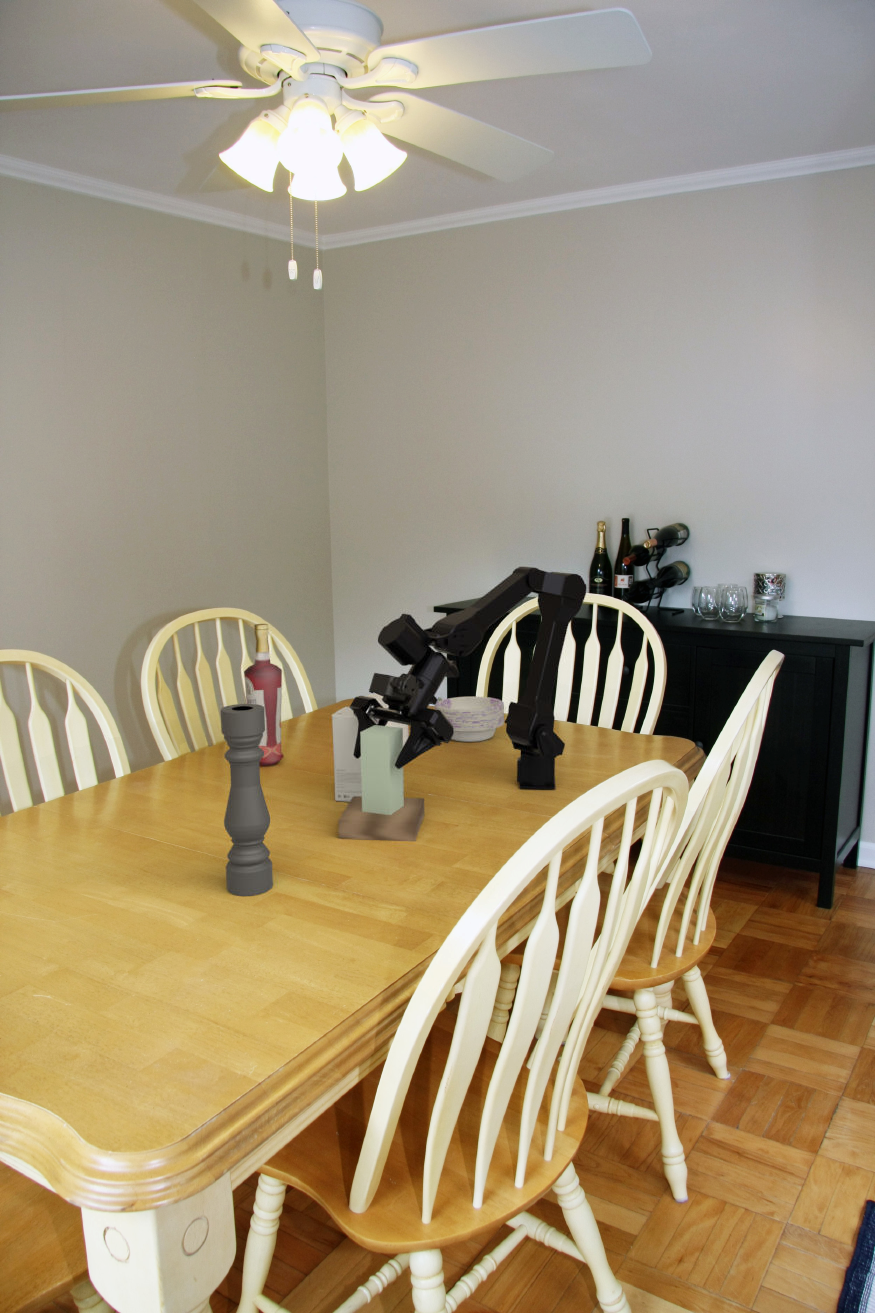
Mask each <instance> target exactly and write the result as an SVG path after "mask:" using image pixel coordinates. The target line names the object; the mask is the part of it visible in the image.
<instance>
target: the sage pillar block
mask: <svg viewBox="0 0 875 1313" xmlns="http://www.w3.org/2000/svg"><path fill="white" fill-rule="evenodd" d="M360 736H361V782H362V811H363V812H370V813H378V814H385V815H391V814H393V813H394V812H396V811H397V810H399V809H400V808H401V807H403V806H404V798H405V797H404V796H405V795H404V793H405V792H404V791H405V790H404V766H403V767H402V768H400V769H397V768H396V767H395V763H396V760H397V758H398V756H399V754H400V752H401V750H402V748H403V728H399V727H389V726H379V725H374V726H372V727H370V728H368V729H366V730H364V731H362V732H360Z"/></svg>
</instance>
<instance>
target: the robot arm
mask: <svg viewBox="0 0 875 1313" xmlns="http://www.w3.org/2000/svg"><path fill="white" fill-rule="evenodd" d="M532 593H534V594H537V606H538V609H539V613H540V616H541V620H540V624H539V628H538V631H537V632H538V633H537V637H536V642H535V644H534V650H533V654H532V658H531V662H530V667H529V671H528V675H527V679H526V680H527V681H526V684H525V687H524V692H523V695H522V696H521V697H520V699H519V700H518V701H517V702H514V701H509V702H510V703H509V705H508V711H507V715H506V719H504V724H505V725H506V727H505V733H506V734H507V736H508V738H509V740H510V741H511V744H512V747H513V749H514V750H518V751H520V755H519V756H520V757H519V756H518V757H517V758H516V759H517V761H516V783H517V784H519V786H518V787H519V789H524V790H525V789H526V790H528V789H531V790H532V789H533V790H556V773H555V771H556V758H557V757H559V756H563V753H564V750H565V745H566V743H565V742H564V741H563V740H562V739H561V738H560V737H559V736H558V734H557V733H556V732H554V729H555V728H554V727H555V719H556V718H555V714H554V710H553V707H552V695H553V692H554V691H553V690H554V687H555V683H556V678H557V674H558V669H559V665H560V661H561V657H562V653H563V650H564V649H563V648H564V644H565V640H566V635H567V632H568V627H569V624H570V623H571V622H572V620H573V619H574V618H575V617H576V616H577V614H579V612H580V610H581V608H582V606H583V603H584V600H585V597H586V595H587V584H586V583H585V580H584V579H583V577H582V576H581V575H579V574H578V573H570V572H569V573H568V572H561V571H560V572H559V571H545V570H542V569H539V567H538V568H537V567H533V566H531V567H529V566H517V567H516V568H515V569H514V570H513V571H512V573H511V574H510V575H508V576H507V577H506V578H504V579H503V580H502V581H501V582H499V583H498V584H497V585H496V586H494V587H493V588H492V589H491V590H489V591H488V592H486V593H485V594H484V595H483V596H482V597H481V598H479V599H478V600H477V601H475V602H474V603H472V605H470V606H469V607H467V608H465V609H463V610H458V611H456V612H452V613H451V614H448V615H446V616H444V617H443V618H440V619H438V620H437V621H436V622H435V623H434V624H433V625H432V626H431V627H429V628H424V629H423V628H422V627H421V626H420V625H419V623H417V621H416V619H415V618H414V617H413V616H412V615H411V614H409V613H401V615H400V616H399V618H395V619H394V620H392V621H391V622H390V623H388V624H387V625H385V626H383V628H382V629H381V630H380V632H379V633H378V637H377V642H378V644H379V645H380V646H381V647H382V648H383V649H384V650H385V651H386V652H387V653H388V654H389V655H390V656H391V657H392V658H393V659H394V660H395V661H397V663H398V664H399V665H401V666H404V667H405V666H406V667H407V666H410V668H409V670H408V672H407V673H401V674H400V675H399V676H394V675H391V674H385V673H379V672H374V673H373V676H372V679H371V682H370V686H369V689H368V692H369V693H370V694H378V695H381V696H383V698H382V701H383V702H384V703H385V704H387V705H388V706H389V707H388V709H387V708H383V707H382V705H381V704H380V703H379V702H378V701H377V700H376V699H375V698H371V697H365V696H366V695H358V696H355V697H354V699H353V700H352V702H351V704H350V705H349V707H350V708H351V709H352V710H353V714H354V715H355V716H356V717H357V719H358V733H357V738H356V743H355V749H354V754H353V755H354V757H355V758H357V759H358V758H360V757H361V736H360V732H362V731H364V730H366V729H368V728H370V727H372V726H374V725H379V726H386V724H387V723H388V721H391V722H396V723H401V724H406V725H408V726H409V737H408V739H407V741H406V743H405V744H404V746H403V748H402V750H401V752H400V754H399V756H398V758H397V760H396V763H395V767H396V768H397V769H400V768H402V767H403V768H404V767H405V766H406V765H408V764H409V763H410V762H413V761H414V760H415V759H417V758H418V757H420V756H422V754H424V753H426V752H428V751H430V750H431V749H433V748H435V747H437V746H438V747H441V745H442V743H445V744H449V743H450V741H451V740H452V739H451V738H452V736H453V734H454V728H453V725H452V724H451V723H450V722H449V720H448V719H447V718H446V717H445V716H444V714H443V713H442V712H441V711H440V710H435V708H429V706H430V705H434V706H435V704H436V703H437V702H439V700H438V698H437V697H436V694H437V692H438V690H439V689H440V687H441V685H442V683H443V681H444V680H445V678H458V677H459V676H460V673H459V669H458V667H457V661H456V660H449V659H448V658H447V657H446V656H445V654H447V655H452V656H456V657H466V656H469V655H470V654H471V653H472V652H473V651H474V649H476V647H477V646H478V645H479V644H480V643H481V642H482V640H483V639H484V637H485V636H484V635H485V633H486V631H487V630H488V629H489V627H491V626H492V624H495V623H496V621H498V620H499V619H500V618H502V617H503V616H504V615H506V614H507V613H508V612H509V611H510V610H512V609H513V608H514V607H516V606H517V605H518V604H519V603H521V602H522V601H523V600H524V599H525V598H527V597H528V596H529V595H530V594H532ZM433 648H434V649H433Z"/></svg>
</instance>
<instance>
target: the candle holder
mask: <svg viewBox="0 0 875 1313" xmlns="http://www.w3.org/2000/svg"><path fill="white" fill-rule="evenodd" d="M220 726H221V727H220V728H221V729H220V730H221V734H222V735H223V740H224V741H225V742H226V743H227V746H228V747H229V749H227V750H226V751H225V752H224V758H225V760H226V761H227V762H228V764H229V766H230V767H229V768H230V769H229V771H230V772H229V773H230V788H229V792H228V798H227V805H226V808H225V809H226V810H225V814H224V820H223V826H224V828H225V829H224V830H226V833H227V834H228V836H229V837H230V838H231V843H232V844H233V845H232V846H231V848H230V850H229V851H228V853H227V854H226V855H227V856H226V857H227V859H228V861H227V863H226V865H225V873H226V874H225V876H226V879H225V880H226V890H227V892H228V893H229V894H232V895H234V896H239V897H252V896H258V895H261V894H265V893H267V892H269V891H271V889H273V886H274V877H273V876H274V875H273V861H272V860H271V858H270V855H271V852H270V849H268V847H267V846H266V844H265V843H264V841H265V835H266V834H267V832H268V829H269V827H270V824H271V816H270V812H269V808H268V806H267V803H266V799H265V795H264V791H263V787H262V783H261V770H260V769H261V768H260V767H261V766H260V765H259V762H260V761H261V759H262V758H263V756H264V751H263V750H262V749H261V748H259V744H260V741H261V739H262V737H263V732H264V731H265V715H264V707H263V706H262V705H258V704H247V703H238V704H230V705H226V706H223V707H221V709H220Z"/></svg>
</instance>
